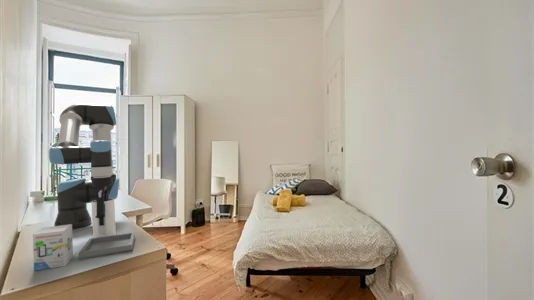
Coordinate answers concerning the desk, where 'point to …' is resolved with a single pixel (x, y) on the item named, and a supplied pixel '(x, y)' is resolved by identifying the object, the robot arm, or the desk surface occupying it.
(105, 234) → the cup
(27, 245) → the desk surface
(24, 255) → the desk surface
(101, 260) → the desk surface
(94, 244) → the tray
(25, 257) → the desk surface
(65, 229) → the ink box
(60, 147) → the robot arm
